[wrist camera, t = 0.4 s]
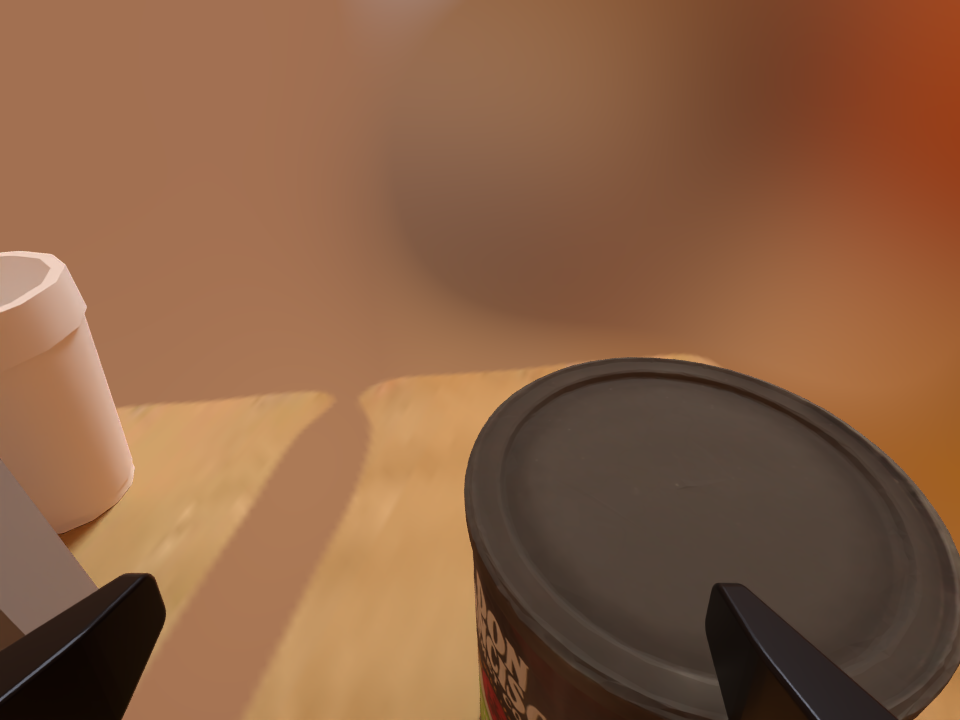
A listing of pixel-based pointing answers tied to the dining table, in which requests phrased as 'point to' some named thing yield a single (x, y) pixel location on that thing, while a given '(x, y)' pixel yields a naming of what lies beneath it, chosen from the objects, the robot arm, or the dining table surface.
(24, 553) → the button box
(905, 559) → the coffee can
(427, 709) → the dining table surface
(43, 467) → the foam cup
